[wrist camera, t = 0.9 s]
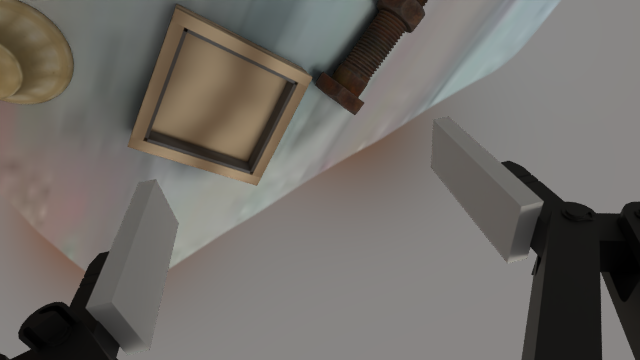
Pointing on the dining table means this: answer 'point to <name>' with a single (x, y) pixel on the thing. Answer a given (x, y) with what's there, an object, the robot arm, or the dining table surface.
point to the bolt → (371, 51)
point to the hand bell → (31, 55)
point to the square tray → (217, 100)
